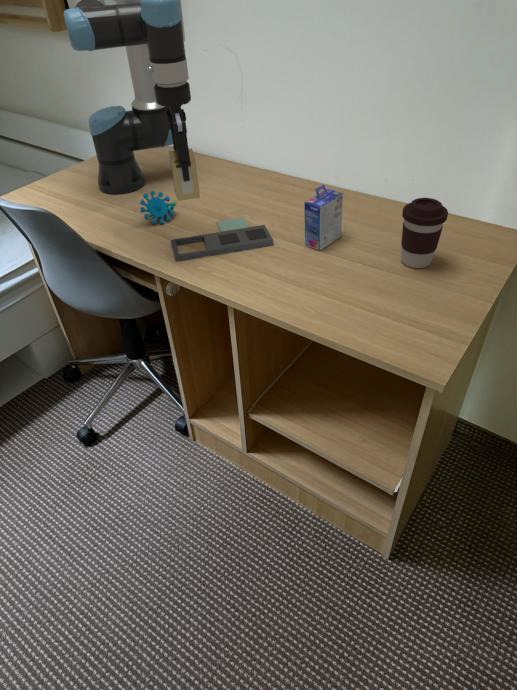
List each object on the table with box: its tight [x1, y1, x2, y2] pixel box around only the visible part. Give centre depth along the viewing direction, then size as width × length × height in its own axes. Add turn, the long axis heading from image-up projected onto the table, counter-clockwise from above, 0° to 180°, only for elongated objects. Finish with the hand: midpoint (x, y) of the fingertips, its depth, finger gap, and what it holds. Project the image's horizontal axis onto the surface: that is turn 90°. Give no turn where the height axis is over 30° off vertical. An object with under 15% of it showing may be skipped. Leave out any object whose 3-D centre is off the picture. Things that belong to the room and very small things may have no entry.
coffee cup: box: [400, 197, 449, 269], centre depth 117 cm, size 10×10×15 cm
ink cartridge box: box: [304, 184, 344, 251], centre depth 126 cm, size 10×6×14 cm, turn 138°
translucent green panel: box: [216, 216, 249, 232], centre depth 139 cm, size 8×8×1 cm
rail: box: [170, 224, 274, 262], centre depth 131 cm, size 9×26×2 cm, turn 104°
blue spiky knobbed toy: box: [139, 190, 178, 225], centre depth 144 cm, size 11×6×10 cm
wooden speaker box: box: [168, 148, 201, 202], centre depth 118 cm, size 6×6×10 cm
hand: (186, 187), depth 120 cm, fingers closed on wooden speaker box, 5 cm apart
